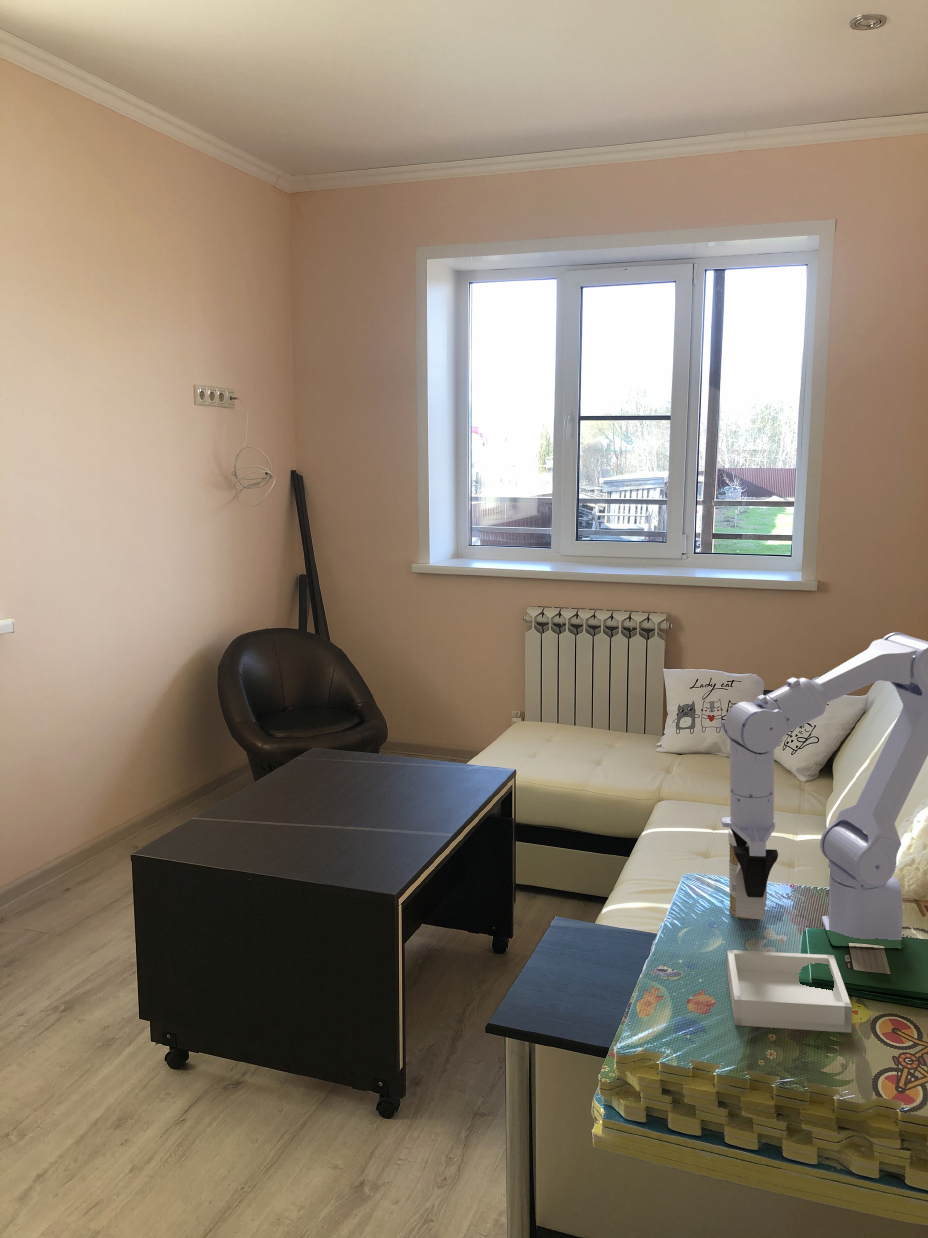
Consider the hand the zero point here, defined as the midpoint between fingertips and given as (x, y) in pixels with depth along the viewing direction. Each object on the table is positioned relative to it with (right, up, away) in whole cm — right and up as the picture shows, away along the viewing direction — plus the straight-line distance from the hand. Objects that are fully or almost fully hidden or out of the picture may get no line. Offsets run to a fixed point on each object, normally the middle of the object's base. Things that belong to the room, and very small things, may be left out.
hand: (751, 883), depth 131 cm
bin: (+1, -12, -10) cm, 16 cm away
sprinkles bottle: (+3, -8, +13) cm, 15 cm away
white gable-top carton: (0, -4, +1) cm, 4 cm away
